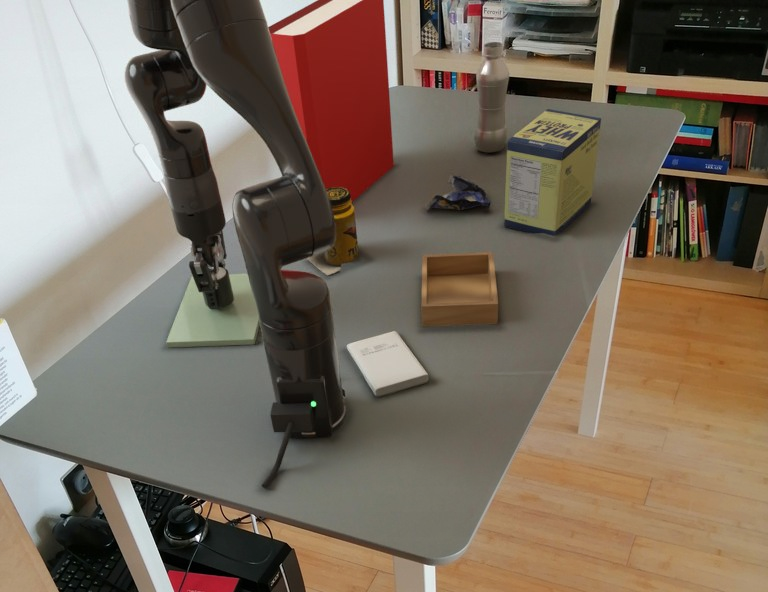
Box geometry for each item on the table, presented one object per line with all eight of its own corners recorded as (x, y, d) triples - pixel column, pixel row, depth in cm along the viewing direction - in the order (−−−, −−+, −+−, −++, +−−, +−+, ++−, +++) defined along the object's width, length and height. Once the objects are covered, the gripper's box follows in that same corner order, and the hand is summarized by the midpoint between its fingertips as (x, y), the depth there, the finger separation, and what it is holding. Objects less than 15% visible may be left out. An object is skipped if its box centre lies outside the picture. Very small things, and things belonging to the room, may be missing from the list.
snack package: (436, 191, 160) (418, 217, 152) (441, 158, 155) (423, 184, 148) (495, 206, 158) (480, 233, 151) (502, 174, 154) (487, 200, 146)
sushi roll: (231, 308, 132) (225, 280, 128) (202, 309, 132) (195, 281, 129) (236, 292, 135) (230, 264, 132) (208, 293, 136) (201, 265, 132)
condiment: (368, 260, 143) (362, 193, 135) (327, 276, 140) (318, 209, 132) (346, 244, 148) (339, 179, 139) (306, 260, 145) (296, 194, 136)
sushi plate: (254, 344, 128) (253, 339, 127) (167, 347, 129) (165, 342, 128) (272, 277, 141) (271, 272, 141) (193, 280, 142) (191, 275, 142)
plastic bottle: (468, 148, 173) (469, 44, 158) (496, 141, 174) (499, 37, 160) (484, 159, 168) (486, 53, 154) (512, 151, 170) (517, 45, 156)
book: (360, 160, 172) (344, -15, 149) (393, 166, 169) (382, -12, 146) (289, 218, 156) (258, 32, 133) (324, 225, 153) (299, 36, 130)
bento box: (497, 327, 126) (498, 303, 123) (422, 330, 127) (421, 306, 124) (492, 275, 137) (492, 251, 134) (423, 278, 138) (422, 254, 135)
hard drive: (376, 398, 116) (347, 352, 124) (428, 382, 118) (397, 338, 126) (375, 389, 115) (346, 343, 123) (428, 373, 117) (396, 329, 125)
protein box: (592, 203, 152) (602, 116, 141) (555, 240, 143) (563, 151, 132) (541, 192, 156) (547, 107, 145) (502, 227, 148) (505, 140, 137)
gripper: (180, 178, 126) (205, 277, 139) (159, 222, 117) (187, 324, 129) (227, 176, 126) (248, 275, 138) (210, 220, 116) (234, 323, 128)
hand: (219, 298), depth 133 cm, fingers closed on sushi roll, 4 cm apart
